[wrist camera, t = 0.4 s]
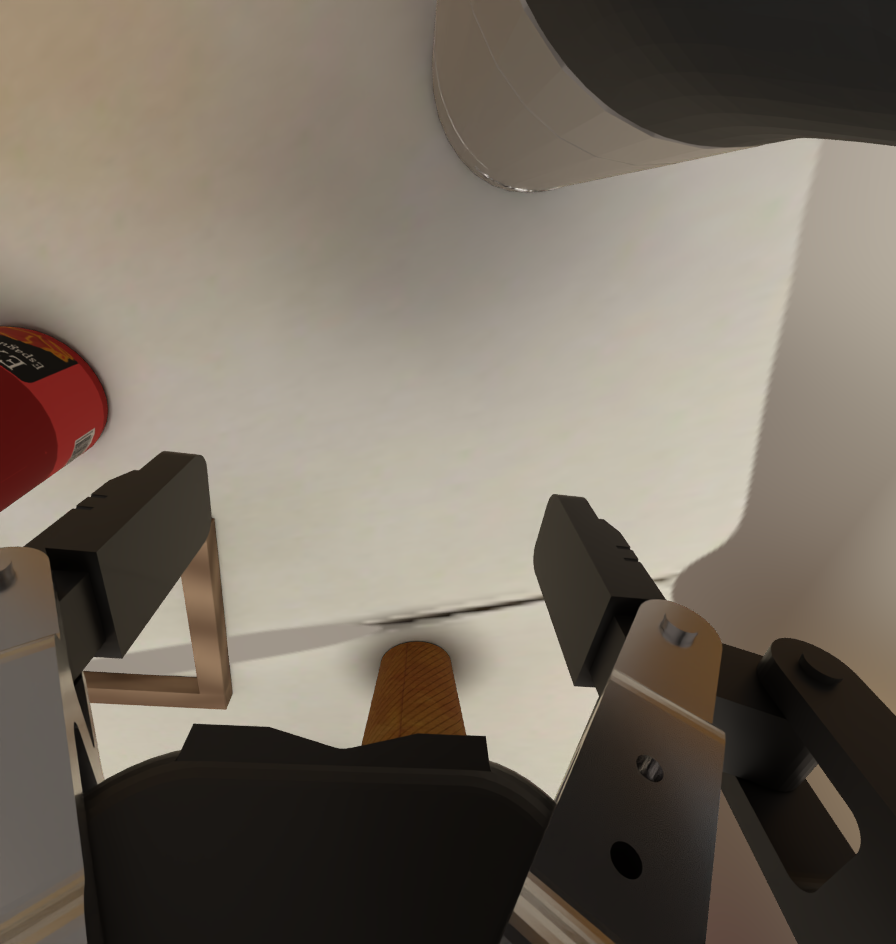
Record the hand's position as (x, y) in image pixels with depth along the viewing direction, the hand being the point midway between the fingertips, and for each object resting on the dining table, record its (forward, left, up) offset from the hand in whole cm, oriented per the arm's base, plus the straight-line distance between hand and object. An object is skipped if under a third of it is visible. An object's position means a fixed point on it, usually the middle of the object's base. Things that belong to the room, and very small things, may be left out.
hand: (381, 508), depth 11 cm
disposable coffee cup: (+28, +4, -18) cm, 34 cm away
